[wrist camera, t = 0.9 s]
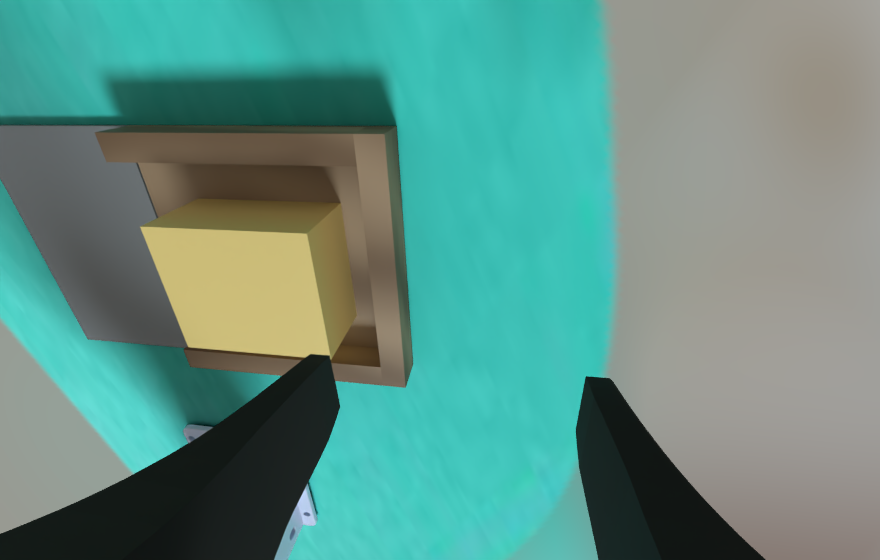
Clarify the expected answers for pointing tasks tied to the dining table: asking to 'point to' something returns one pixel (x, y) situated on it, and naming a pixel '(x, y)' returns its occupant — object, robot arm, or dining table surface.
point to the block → (256, 275)
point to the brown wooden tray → (299, 180)
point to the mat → (90, 230)
